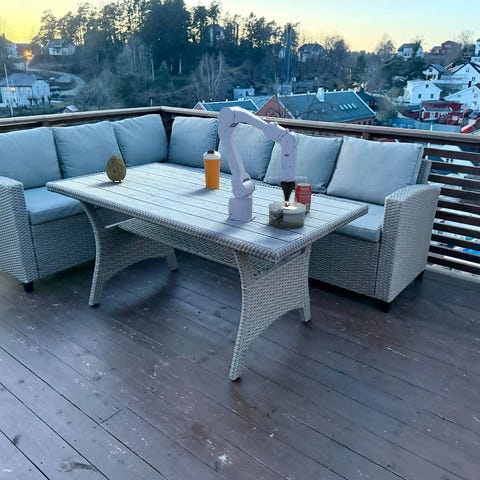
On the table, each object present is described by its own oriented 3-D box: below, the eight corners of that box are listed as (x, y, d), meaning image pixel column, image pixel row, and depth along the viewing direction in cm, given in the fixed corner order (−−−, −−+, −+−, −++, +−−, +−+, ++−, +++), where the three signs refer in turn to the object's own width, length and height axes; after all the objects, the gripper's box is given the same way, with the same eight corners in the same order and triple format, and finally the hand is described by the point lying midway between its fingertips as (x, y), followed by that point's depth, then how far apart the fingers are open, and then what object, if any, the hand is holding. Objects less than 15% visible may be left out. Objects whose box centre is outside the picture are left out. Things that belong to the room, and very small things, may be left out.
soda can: (299, 207, 184) (300, 181, 179) (313, 210, 180) (315, 183, 175) (290, 211, 178) (292, 184, 174) (304, 214, 174) (306, 186, 170)
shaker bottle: (221, 185, 223) (220, 148, 215) (220, 189, 214) (220, 150, 207) (204, 185, 222) (203, 148, 215) (203, 189, 214) (202, 150, 207)
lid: (257, 214, 154) (257, 208, 153) (276, 201, 170) (276, 196, 169) (294, 219, 148) (295, 214, 147) (310, 206, 164) (310, 201, 163)
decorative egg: (124, 184, 224) (121, 156, 218) (104, 184, 224) (101, 156, 218) (129, 180, 234) (127, 153, 228) (110, 180, 234) (107, 153, 228)
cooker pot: (257, 229, 156) (258, 214, 154) (276, 216, 172) (277, 202, 170) (292, 235, 150) (293, 219, 148) (308, 221, 166) (309, 206, 164)
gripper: (270, 167, 149) (269, 203, 154) (310, 167, 150) (307, 203, 155) (268, 164, 156) (266, 198, 160) (305, 164, 157) (303, 198, 162)
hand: (286, 200), depth 158 cm, fingers closed
